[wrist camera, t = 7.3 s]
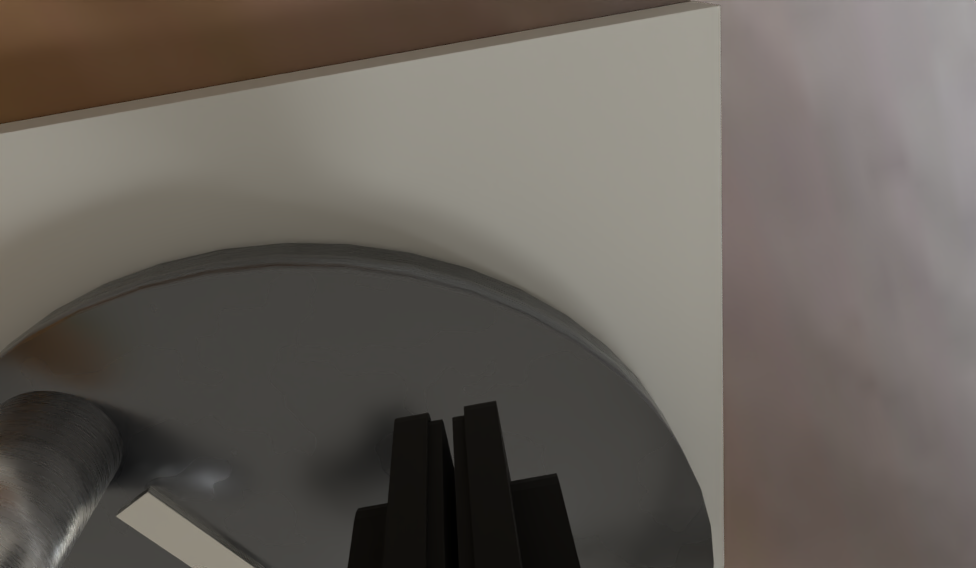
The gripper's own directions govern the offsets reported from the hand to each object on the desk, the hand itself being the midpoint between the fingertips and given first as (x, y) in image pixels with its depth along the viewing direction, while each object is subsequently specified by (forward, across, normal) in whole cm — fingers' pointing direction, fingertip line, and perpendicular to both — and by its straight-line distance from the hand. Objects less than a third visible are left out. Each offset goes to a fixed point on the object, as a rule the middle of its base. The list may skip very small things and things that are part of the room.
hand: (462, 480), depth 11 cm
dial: (+5, +5, +7) cm, 10 cm away
